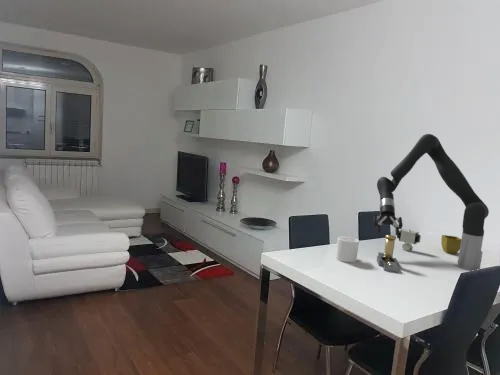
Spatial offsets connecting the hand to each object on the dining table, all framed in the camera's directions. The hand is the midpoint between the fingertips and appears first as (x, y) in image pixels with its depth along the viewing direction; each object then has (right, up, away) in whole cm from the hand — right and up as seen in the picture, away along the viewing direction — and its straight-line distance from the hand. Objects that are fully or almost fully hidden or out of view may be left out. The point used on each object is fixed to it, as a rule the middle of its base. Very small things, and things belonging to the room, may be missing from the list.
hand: (388, 233), depth 200 cm
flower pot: (+44, -14, +24) cm, 52 cm away
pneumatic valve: (+18, -12, +21) cm, 30 cm away
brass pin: (-4, -14, -11) cm, 18 cm away
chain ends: (-4, -14, -11) cm, 18 cm away
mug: (-23, -12, -9) cm, 27 cm away
